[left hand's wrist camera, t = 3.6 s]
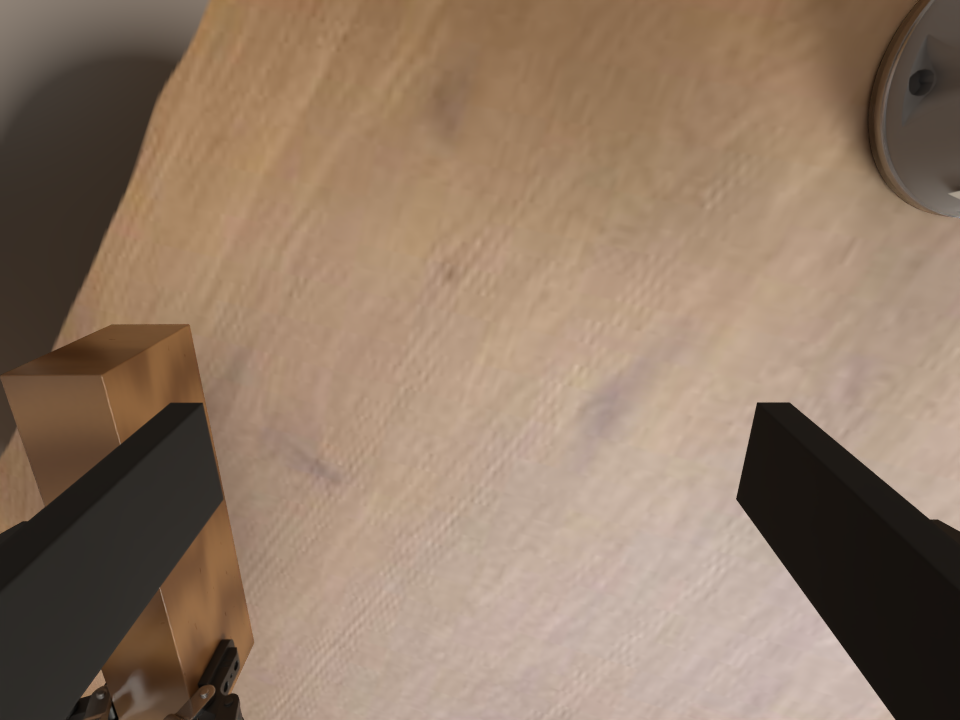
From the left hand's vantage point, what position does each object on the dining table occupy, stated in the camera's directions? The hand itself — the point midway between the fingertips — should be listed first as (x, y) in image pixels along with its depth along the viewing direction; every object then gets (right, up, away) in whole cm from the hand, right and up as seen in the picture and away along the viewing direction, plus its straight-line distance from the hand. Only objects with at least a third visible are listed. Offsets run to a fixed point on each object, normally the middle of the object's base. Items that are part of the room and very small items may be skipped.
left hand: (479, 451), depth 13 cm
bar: (-21, -8, +25) cm, 34 cm away
